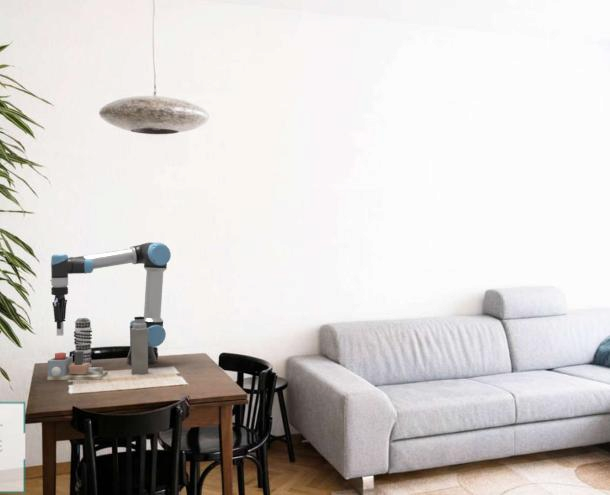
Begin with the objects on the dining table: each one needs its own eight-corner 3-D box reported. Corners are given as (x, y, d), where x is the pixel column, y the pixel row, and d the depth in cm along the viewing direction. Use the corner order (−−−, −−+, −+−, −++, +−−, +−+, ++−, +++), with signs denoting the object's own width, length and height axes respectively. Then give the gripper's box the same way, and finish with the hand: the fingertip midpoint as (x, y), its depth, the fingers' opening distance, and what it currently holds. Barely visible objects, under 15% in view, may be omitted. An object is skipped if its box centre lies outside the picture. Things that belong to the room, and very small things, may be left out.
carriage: (89, 371, 318) (89, 350, 317) (85, 374, 311) (85, 353, 310) (73, 371, 317) (73, 350, 317) (68, 374, 310) (68, 353, 310)
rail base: (107, 374, 320) (107, 365, 320) (100, 379, 308) (100, 370, 308) (56, 374, 320) (56, 365, 320) (47, 380, 308) (47, 370, 308)
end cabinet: (72, 374, 319) (72, 356, 319) (64, 379, 308) (64, 361, 308) (56, 374, 319) (56, 356, 319) (47, 380, 308) (47, 361, 308)
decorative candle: (95, 364, 345) (95, 317, 345) (87, 368, 336) (87, 319, 335) (78, 364, 346) (78, 317, 346) (70, 367, 337) (70, 319, 336)
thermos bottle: (137, 370, 328) (137, 315, 328) (151, 371, 326) (150, 316, 325) (128, 374, 321) (127, 317, 320) (142, 375, 318) (141, 318, 318)
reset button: (67, 359, 316) (67, 352, 316) (63, 361, 311) (63, 354, 311) (57, 359, 316) (57, 352, 316) (53, 361, 311) (53, 354, 311)
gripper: (57, 285, 320) (57, 333, 320) (46, 287, 307) (47, 337, 307) (72, 285, 320) (72, 333, 320) (62, 287, 307) (62, 337, 307)
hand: (60, 335), depth 314 cm, fingers closed
